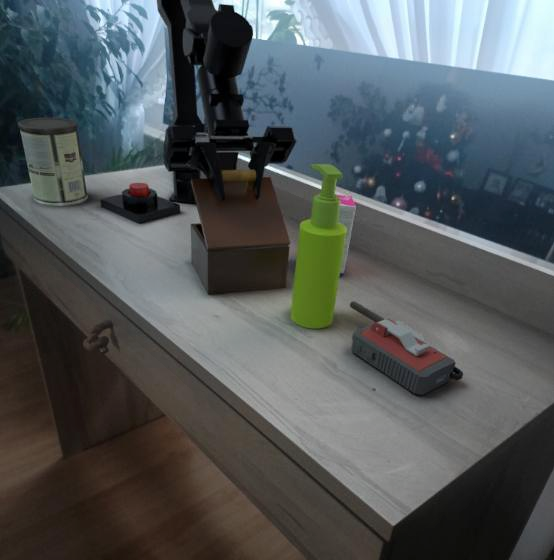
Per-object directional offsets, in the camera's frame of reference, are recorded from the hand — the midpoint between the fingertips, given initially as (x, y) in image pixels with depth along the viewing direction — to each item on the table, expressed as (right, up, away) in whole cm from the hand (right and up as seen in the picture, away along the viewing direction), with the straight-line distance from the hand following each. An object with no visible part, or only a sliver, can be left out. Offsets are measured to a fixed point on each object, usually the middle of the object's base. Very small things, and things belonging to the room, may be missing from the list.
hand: (241, 198), depth 73 cm
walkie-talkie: (+19, -22, -7) cm, 30 cm away
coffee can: (-39, +10, +30) cm, 50 cm away
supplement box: (+13, -8, +12) cm, 20 cm away
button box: (-22, +7, +28) cm, 36 cm away
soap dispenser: (+10, -17, -1) cm, 20 cm away
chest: (-1, -10, +7) cm, 12 cm away
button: (-22, +10, +26) cm, 35 cm away
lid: (0, -2, +1) cm, 2 cm away
